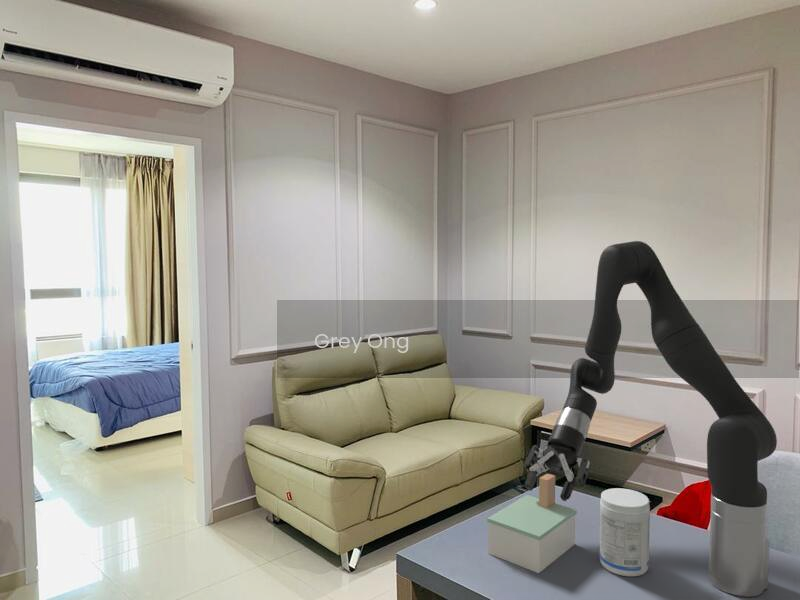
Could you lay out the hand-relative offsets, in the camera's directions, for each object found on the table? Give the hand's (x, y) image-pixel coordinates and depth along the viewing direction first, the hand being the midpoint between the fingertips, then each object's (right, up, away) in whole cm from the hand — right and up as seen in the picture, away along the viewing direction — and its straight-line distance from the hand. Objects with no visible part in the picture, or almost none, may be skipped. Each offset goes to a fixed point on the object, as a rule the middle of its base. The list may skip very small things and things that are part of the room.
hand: (545, 494), depth 133 cm
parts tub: (-4, -11, -4) cm, 12 cm away
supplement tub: (+13, -11, -11) cm, 21 cm away
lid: (-4, -5, -4) cm, 7 cm away
